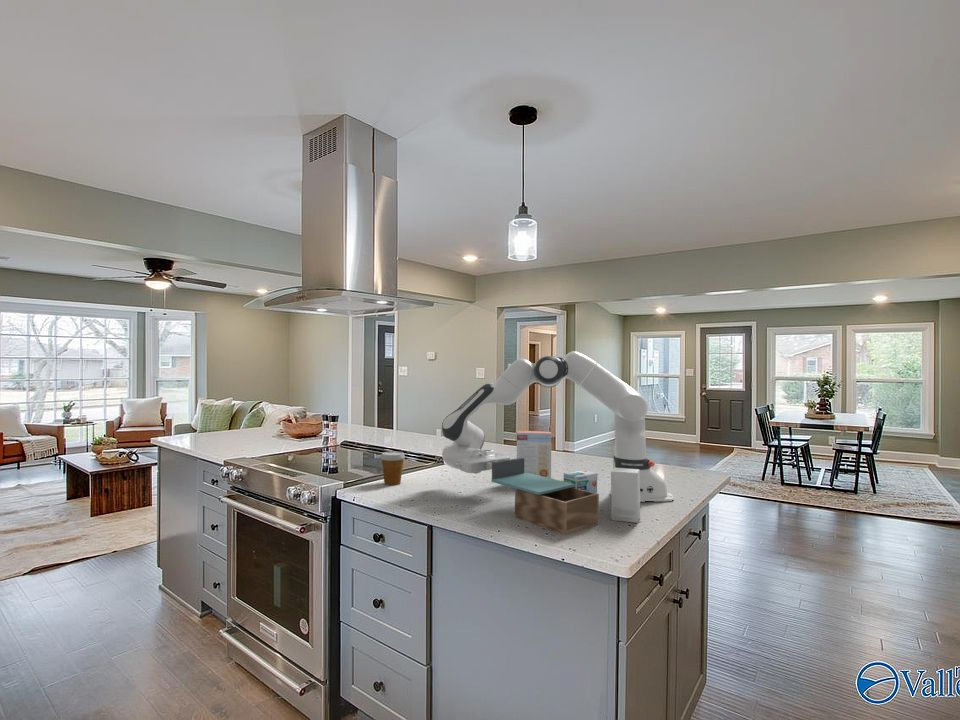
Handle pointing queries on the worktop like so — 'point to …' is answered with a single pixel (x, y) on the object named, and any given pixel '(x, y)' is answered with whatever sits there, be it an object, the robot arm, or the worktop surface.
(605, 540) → the worktop surface
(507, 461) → the lid
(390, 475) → the disposable coffee cup
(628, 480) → the skincare box
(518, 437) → the cracker box
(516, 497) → the crate
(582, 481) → the light bulb box
